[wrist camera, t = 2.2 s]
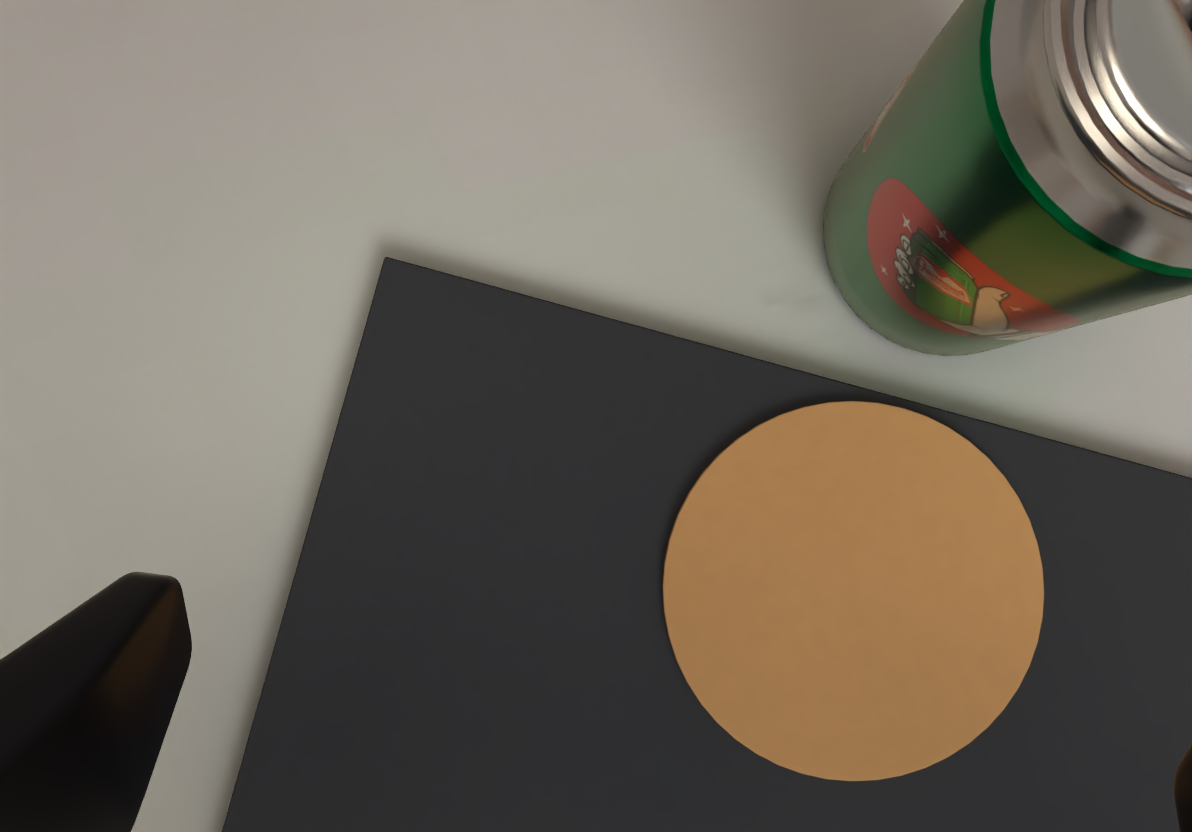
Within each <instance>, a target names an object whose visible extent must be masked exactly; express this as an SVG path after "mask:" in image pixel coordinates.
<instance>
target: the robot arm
mask: <svg viewBox="0 0 1192 832" xmlns="http://www.w3.org/2000/svg"><path fill="white" fill-rule="evenodd" d="M191 651H192V641H191V634H190V629H189V624H188V618H187V613H186V608H185V602H184V597H183V592H182V588H181V585H180V583H179V582H178V580H177V579H176V578H174V577H171V576H167V575H159V574H151V573H143V572H132V573H129V574H126V575H124V576H122V577H121V578H119V579H118V580H116V581H115V582H113V583H112V584H110V585H109V586H108V587H106V588H105V589H103V590H102V591H100V592H99V593H97V594H96V595H94V596H93V597H91V598H90V599H89V600H87V601H86V602H84V603H83V604H81V605H80V606H78V607H77V608H75V609H74V610H72V611H71V612H70V613H68V614H67V615H65V616H64V617H62V618H61V619H59V620H58V621H56V622H55V623H53V624H52V625H51V626H49V627H48V628H46V629H45V630H43V631H42V632H40V633H39V634H37V635H36V636H34V637H33V638H32V639H30V640H29V641H27V642H26V643H24V644H23V645H21V646H20V647H18V648H17V649H15V650H14V651H13V652H11V653H10V654H8V655H7V656H5V657H4V658H2V659H1V660H0V832H131V830H132V827H133V825H134V823H135V820H136V817H137V815H138V812H139V809H140V807H141V804H142V801H143V798H144V796H145V793H146V790H147V787H148V784H149V781H150V778H151V775H152V772H153V769H154V766H155V763H156V761H157V758H158V755H159V752H160V749H161V746H162V743H163V740H164V737H165V734H166V731H167V728H168V726H169V723H170V720H171V717H172V714H173V711H174V708H175V705H176V702H177V699H178V696H179V693H180V690H181V688H182V685H183V682H184V679H185V676H186V673H187V670H188V667H189V663H190V658H191ZM1174 799H1175V805H1176V811H1177V817H1178V823H1179V829H1180V832H1192V744H1191V745H1190V747H1189V749H1188V750H1187V752H1186V754H1185V755H1184V757H1183V759H1182V760H1181V762H1180V764H1179V766H1178V768H1177V770H1176V774H1175V778H1174Z"/></svg>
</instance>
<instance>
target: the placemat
mask: <svg viewBox="0 0 1192 832" xmlns="http://www.w3.org/2000/svg"><path fill="white" fill-rule="evenodd" d="M1191 744H1192V478H1189V477H1186V476H1182V475H1178V474H1175V473H1171V472H1168V471H1164V470H1160V469H1157V468H1153V467H1149V466H1146V465H1142V464H1138V463H1135V462H1131V461H1128V460H1124V459H1120V458H1117V457H1113V456H1109V455H1106V454H1102V453H1098V452H1095V451H1091V450H1087V449H1084V448H1080V447H1077V446H1073V445H1069V444H1066V443H1062V442H1058V441H1055V440H1051V439H1047V438H1044V437H1040V436H1037V435H1033V434H1029V433H1026V432H1022V431H1018V430H1015V429H1011V428H1007V427H1004V426H1000V425H997V424H993V423H989V422H986V421H982V420H978V419H975V418H971V417H967V416H964V415H960V414H956V413H953V412H949V411H946V410H942V409H938V408H935V407H931V406H927V405H924V404H920V403H916V402H913V401H909V400H906V399H902V398H898V397H895V396H891V395H887V394H884V393H880V392H876V391H873V390H869V389H866V388H862V387H858V386H855V385H851V384H847V383H844V382H840V381H836V380H833V379H829V378H825V377H822V376H818V375H815V374H811V373H807V372H804V371H800V370H796V369H793V368H789V367H785V366H782V365H778V364H775V363H771V362H767V361H764V360H760V359H756V358H753V357H749V356H745V355H742V354H738V353H735V352H731V351H727V350H724V349H720V348H716V347H713V346H709V345H705V344H702V343H698V342H694V341H691V340H687V339H684V338H680V337H676V336H673V335H669V334H665V333H662V332H658V331H654V330H651V329H647V328H644V327H640V326H636V325H633V324H629V323H625V322H622V321H618V320H614V319H611V318H607V317H604V316H600V315H596V314H593V313H589V312H585V311H582V310H578V309H574V308H571V307H567V306H563V305H560V304H556V303H553V302H549V301H545V300H542V299H538V298H534V297H531V296H527V295H523V294H520V293H516V292H513V291H509V290H505V289H502V288H498V287H494V286H491V285H487V284H483V283H480V282H476V281H473V280H469V279H465V278H462V277H458V276H454V275H451V274H447V273H443V272H440V271H436V270H433V269H429V268H425V267H422V266H418V265H414V264H411V263H407V262H403V261H400V260H396V259H392V258H389V257H385V259H384V262H383V265H382V269H381V272H380V276H379V279H378V283H377V286H376V290H375V294H374V297H373V301H372V304H371V308H370V311H369V315H368V318H367V322H366V325H365V329H364V332H363V336H362V339H361V343H360V346H359V350H358V354H357V357H356V361H355V364H354V368H353V371H352V375H351V378H350V382H349V385H348V389H347V392H346V396H345V399H344V403H343V406H342V410H341V413H340V417H339V421H338V424H337V428H336V431H335V435H334V438H333V442H332V445H331V449H330V452H329V456H328V459H327V463H326V466H325V470H324V473H323V477H322V481H321V484H320V488H319V491H318V495H317V498H316V502H315V505H314V509H313V512H312V516H311V519H310V523H309V526H308V530H307V533H306V537H305V540H304V544H303V548H302V551H301V555H300V558H299V562H298V565H297V569H296V572H295V576H294V579H293V583H292V586H291V590H290V593H289V597H288V600H287V604H286V608H285V611H284V615H283V618H282V622H281V625H280V629H279V632H278V636H277V639H276V643H275V646H274V650H273V653H272V657H271V660H270V664H269V667H268V671H267V675H266V678H265V682H264V685H263V689H262V692H261V696H260V699H259V703H258V706H257V710H256V713H255V717H254V720H253V724H252V727H251V731H250V735H249V738H248V742H247V745H246V749H245V752H244V756H243V759H242V763H241V766H240V770H239V773H238V777H237V780H236V784H235V787H234V791H233V794H232V798H231V802H230V805H229V809H228V812H227V816H226V819H225V823H224V826H223V830H222V832H1180V829H1179V823H1178V817H1177V811H1176V805H1175V799H1174V778H1175V774H1176V770H1177V768H1178V766H1179V764H1180V762H1181V760H1182V759H1183V757H1184V755H1185V754H1186V752H1187V750H1188V749H1189V747H1190V745H1191Z"/></svg>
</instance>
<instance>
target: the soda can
mask: <svg viewBox="0 0 1192 832" xmlns="http://www.w3.org/2000/svg"><path fill="white" fill-rule="evenodd" d="M823 228H824V247H825V252H826V257H827V262H828V266H829V268H830V271H831V274H832V277H833V279H834V282H835V284H836V286H837V287H838V289H839V291H840V293H841V295H842V296H843V298H844V300H845V301H846V302H847V304H848V305H849V306H850V307H851V309H852V310H853V311H854V313H855V314H856V315H857V316H858V317H859V318H860V319H861V320H862V321H863V322H865V323H866V324H867V325H868V326H869V327H870V328H871V329H873V330H874V331H876V332H877V333H879V334H880V335H881V336H883V337H884V338H886V339H888V340H890V341H892V342H894V343H896V344H898V345H900V346H903V347H905V348H908V349H911V350H915V351H918V352H922V353H926V354H934V355H942V356H955V355H968V354H973V353H979V352H984V351H988V350H991V349H995V348H999V347H1002V346H1006V345H1010V344H1013V343H1017V342H1021V341H1024V340H1028V339H1032V338H1035V337H1039V336H1042V335H1046V334H1050V333H1053V332H1057V331H1061V330H1064V329H1068V328H1072V327H1075V326H1079V325H1083V324H1086V323H1090V322H1094V321H1097V320H1101V319H1105V318H1108V317H1112V316H1115V315H1119V314H1123V313H1126V312H1130V311H1134V310H1137V309H1141V308H1145V307H1148V306H1152V305H1156V304H1159V303H1163V302H1167V301H1170V300H1174V299H1178V298H1181V297H1185V296H1188V295H1192V0H964V1H963V2H962V4H961V5H960V6H959V8H958V9H957V10H956V12H955V13H954V14H953V16H952V17H951V19H950V20H949V21H948V23H947V24H946V25H945V27H944V28H943V29H942V31H941V32H940V33H939V35H938V36H937V37H936V39H935V40H934V41H933V43H932V44H931V45H930V47H929V48H928V50H927V51H926V52H925V54H924V55H923V56H922V58H921V59H920V60H919V62H918V63H917V64H916V66H915V67H914V68H913V70H912V71H911V72H910V74H909V75H908V76H907V78H906V79H905V81H904V82H903V83H902V85H901V86H900V87H899V89H898V90H897V91H896V93H895V94H894V95H893V97H892V98H891V99H890V101H889V102H888V103H887V105H886V106H885V108H884V109H883V110H882V112H881V113H880V114H879V116H878V117H877V118H876V120H875V121H874V122H873V124H872V125H871V126H870V128H869V129H868V130H867V132H866V133H865V134H864V136H863V137H862V139H861V140H860V141H859V143H858V144H857V145H856V147H855V148H854V149H853V151H852V152H851V153H850V155H849V156H848V158H847V159H846V161H845V162H844V164H843V165H842V167H841V168H840V170H839V172H838V174H837V176H836V178H835V180H834V182H833V184H832V186H831V190H830V193H829V197H828V200H827V203H826V208H825V216H824V224H823Z"/></svg>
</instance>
